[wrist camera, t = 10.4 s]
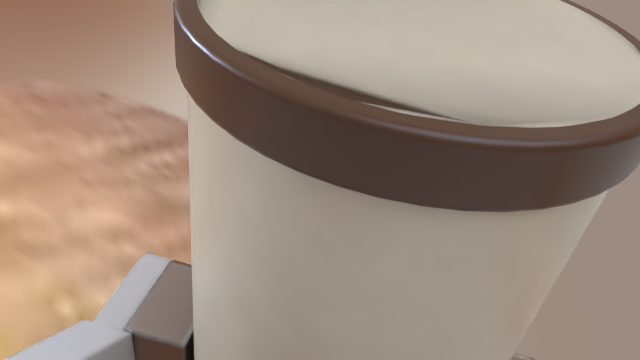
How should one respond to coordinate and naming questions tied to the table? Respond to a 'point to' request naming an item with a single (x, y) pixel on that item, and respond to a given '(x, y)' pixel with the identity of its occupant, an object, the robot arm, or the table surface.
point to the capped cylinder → (394, 169)
